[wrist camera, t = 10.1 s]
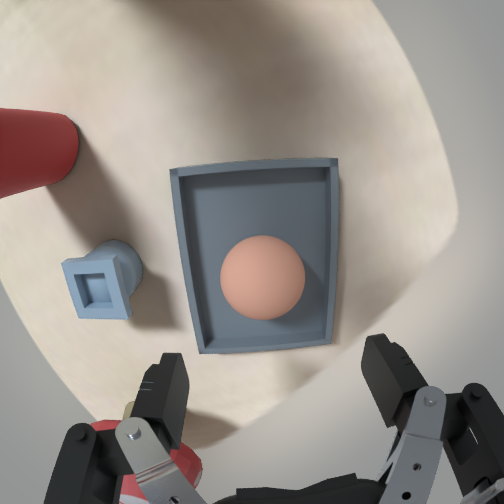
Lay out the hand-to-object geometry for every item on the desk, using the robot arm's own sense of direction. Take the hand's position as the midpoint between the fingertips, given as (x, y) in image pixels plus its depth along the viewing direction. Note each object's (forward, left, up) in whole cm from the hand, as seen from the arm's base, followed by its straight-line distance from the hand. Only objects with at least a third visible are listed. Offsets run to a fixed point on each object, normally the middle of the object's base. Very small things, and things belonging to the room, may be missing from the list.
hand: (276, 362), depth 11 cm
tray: (0, 0, -13) cm, 13 cm away
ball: (0, 0, -12) cm, 12 cm away
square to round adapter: (0, -13, -13) cm, 19 cm away
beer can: (-12, -18, -14) cm, 25 cm away
